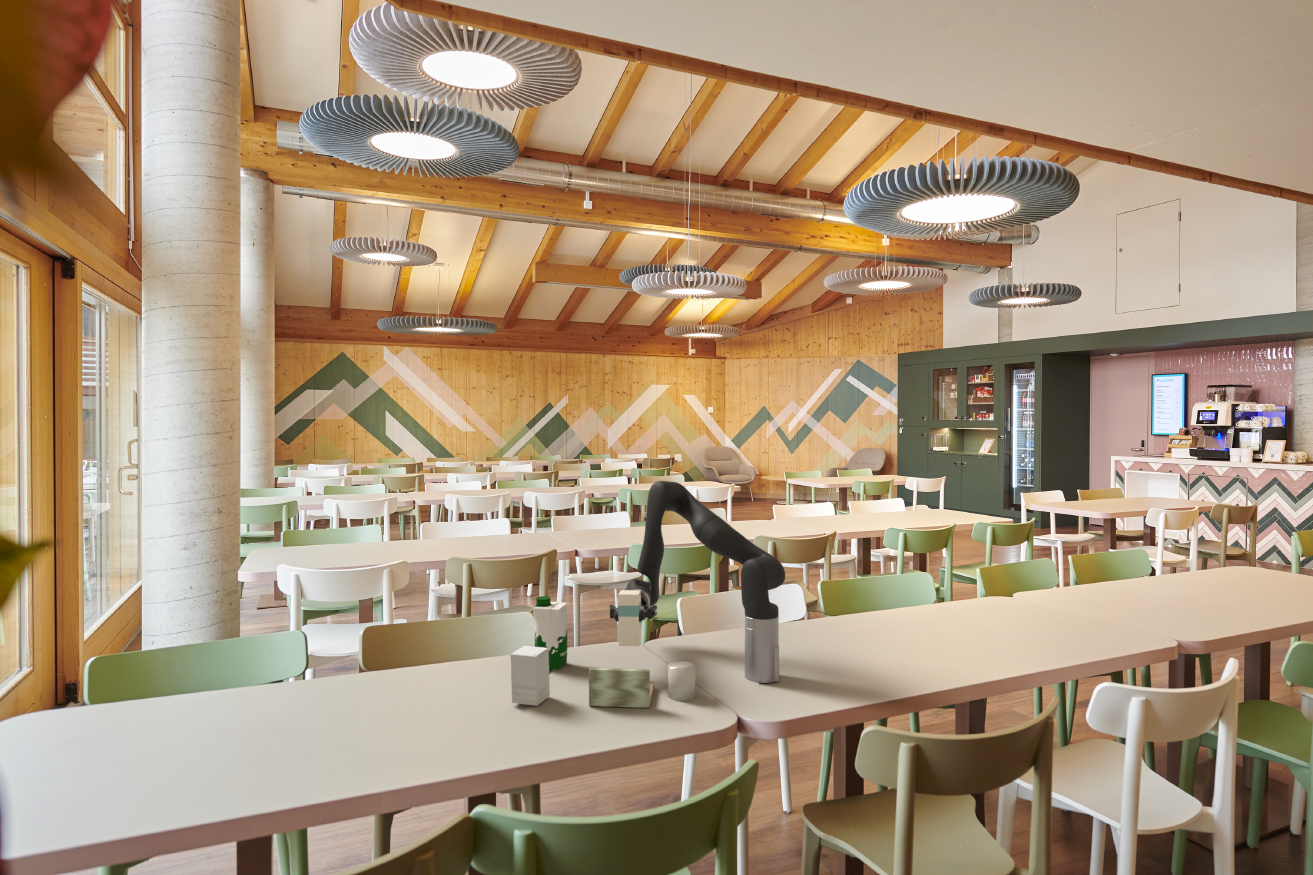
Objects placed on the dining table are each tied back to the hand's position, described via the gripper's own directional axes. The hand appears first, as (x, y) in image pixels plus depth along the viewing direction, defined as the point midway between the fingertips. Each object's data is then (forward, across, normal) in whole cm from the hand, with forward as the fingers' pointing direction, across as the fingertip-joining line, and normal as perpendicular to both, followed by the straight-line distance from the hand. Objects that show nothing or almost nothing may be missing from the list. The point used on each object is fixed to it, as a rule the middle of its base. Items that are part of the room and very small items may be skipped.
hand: (628, 618), depth 210 cm
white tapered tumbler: (+9, +15, +18) cm, 25 cm away
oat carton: (-3, 0, +8) cm, 8 cm away
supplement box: (+15, -23, +18) cm, 33 cm away
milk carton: (-12, -24, +17) cm, 32 cm away
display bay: (+11, 0, +18) cm, 21 cm away
